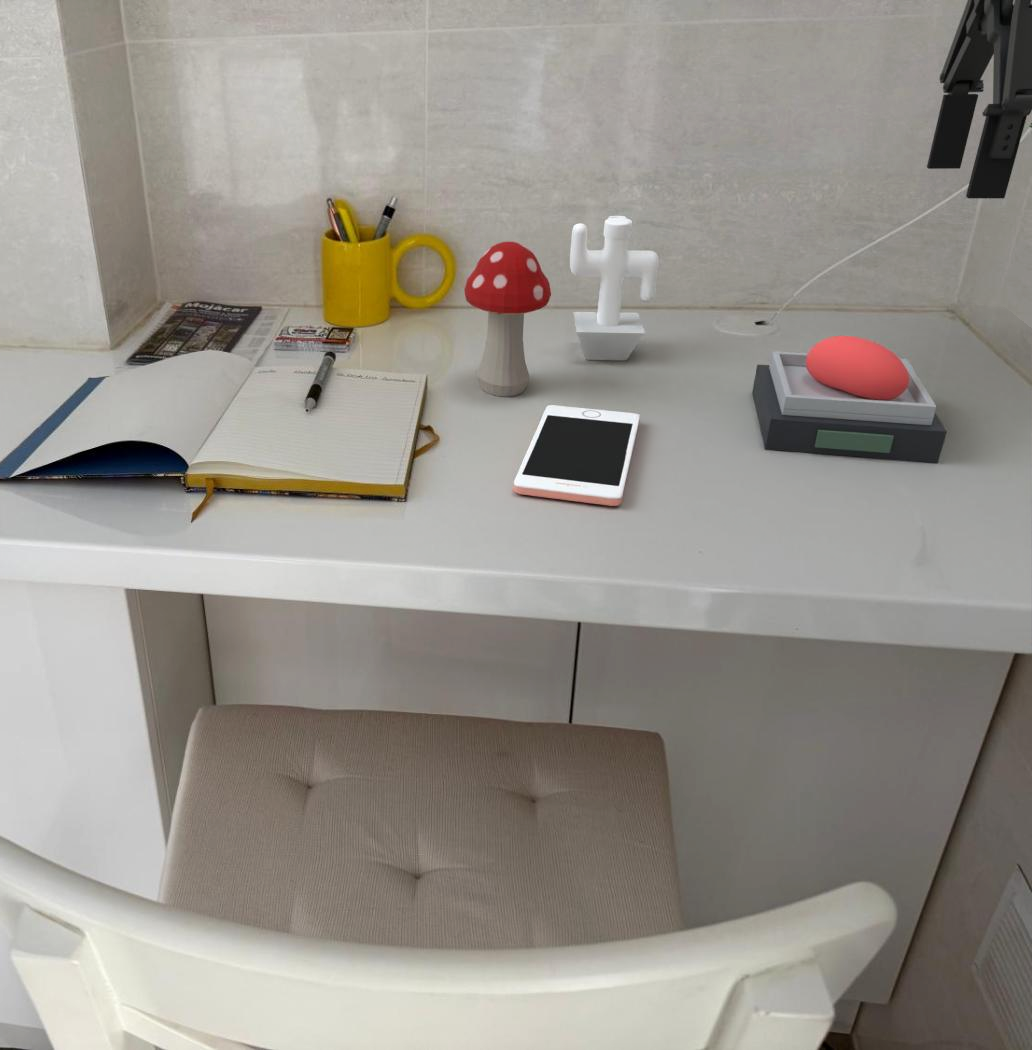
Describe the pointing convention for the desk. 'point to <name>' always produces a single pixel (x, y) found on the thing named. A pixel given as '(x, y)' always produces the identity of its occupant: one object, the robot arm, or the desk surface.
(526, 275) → the decorative mushroom
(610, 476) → the cell phone
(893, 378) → the stress ball
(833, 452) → the scale
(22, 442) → the desk surface
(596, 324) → the figurine
